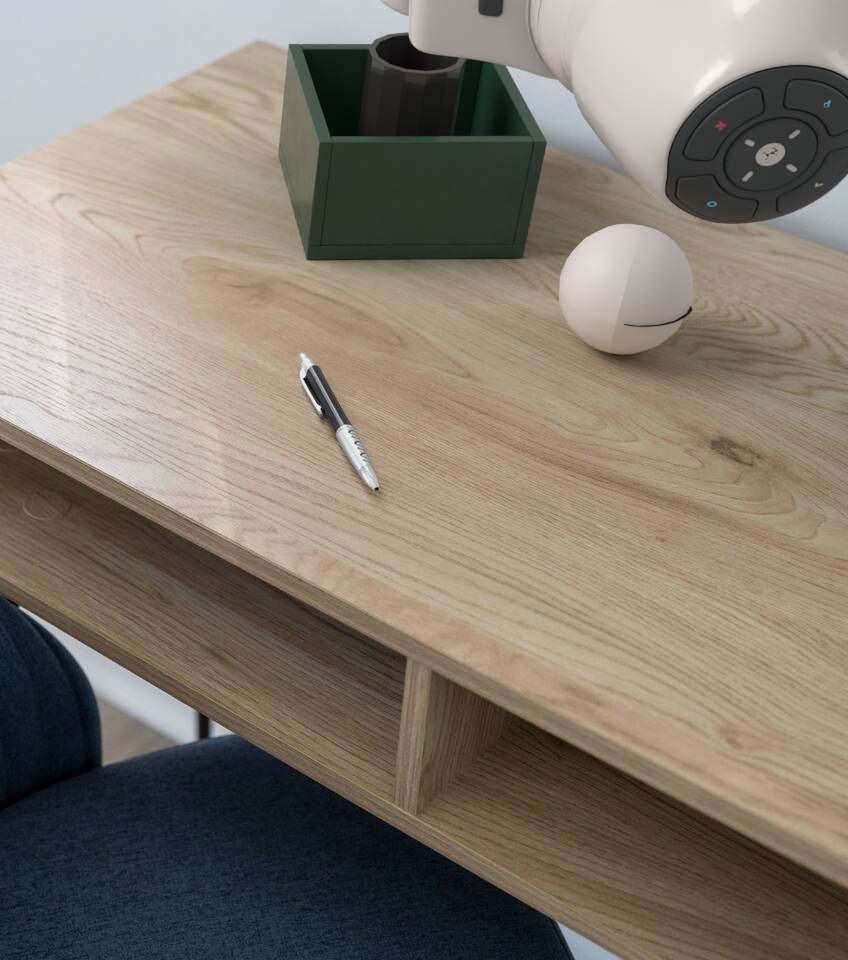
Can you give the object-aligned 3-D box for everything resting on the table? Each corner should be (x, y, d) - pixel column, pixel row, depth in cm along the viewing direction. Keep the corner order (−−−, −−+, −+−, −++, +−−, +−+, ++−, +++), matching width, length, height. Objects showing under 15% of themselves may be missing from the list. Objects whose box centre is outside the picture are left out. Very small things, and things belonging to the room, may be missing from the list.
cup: (431, 167, 107) (453, 31, 101) (450, 213, 103) (475, 73, 97) (345, 168, 107) (362, 31, 101) (360, 213, 102) (379, 73, 96)
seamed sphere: (577, 386, 90) (605, 274, 85) (528, 313, 96) (551, 204, 91) (743, 371, 92) (779, 259, 87) (685, 300, 97) (716, 192, 93)
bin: (474, 153, 111) (494, 43, 106) (523, 258, 101) (547, 141, 95) (277, 154, 110) (288, 43, 105) (306, 259, 100) (319, 142, 95)
